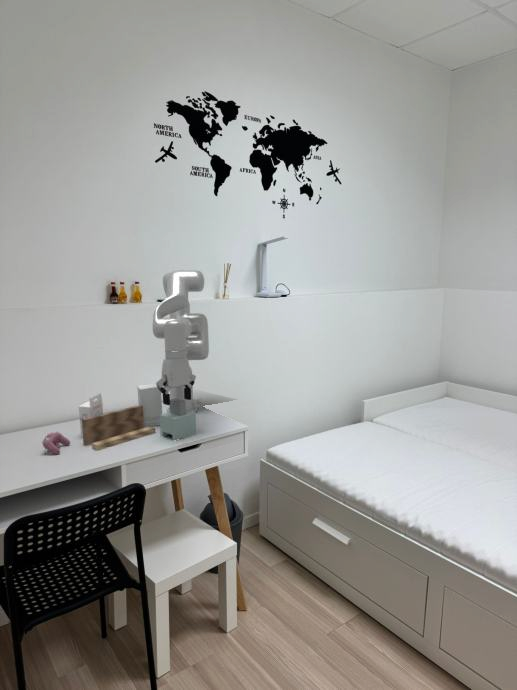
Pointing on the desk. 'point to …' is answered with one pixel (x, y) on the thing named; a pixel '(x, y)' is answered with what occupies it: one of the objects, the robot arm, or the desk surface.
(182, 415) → the mint green block
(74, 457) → the desk surface
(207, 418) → the desk surface
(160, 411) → the skincare box
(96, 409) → the ink cartridge box
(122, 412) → the curved brown board
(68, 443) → the video game controller
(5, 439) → the desk surface
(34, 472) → the desk surface
